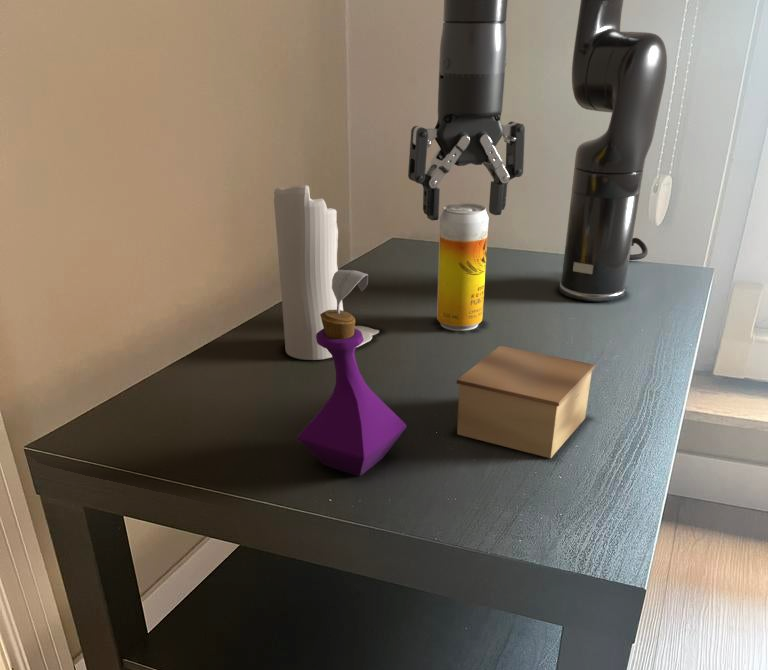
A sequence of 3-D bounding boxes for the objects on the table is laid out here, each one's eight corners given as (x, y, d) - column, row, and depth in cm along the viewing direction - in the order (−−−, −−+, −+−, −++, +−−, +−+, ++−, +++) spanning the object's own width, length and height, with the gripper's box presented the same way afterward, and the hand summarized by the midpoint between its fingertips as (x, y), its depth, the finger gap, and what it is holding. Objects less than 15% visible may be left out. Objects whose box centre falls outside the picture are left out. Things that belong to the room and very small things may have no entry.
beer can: (479, 333, 105) (486, 214, 96) (433, 330, 106) (436, 212, 97) (484, 318, 110) (491, 203, 101) (440, 315, 111) (443, 201, 102)
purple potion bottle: (364, 489, 72) (360, 291, 62) (298, 468, 75) (284, 277, 65) (407, 455, 77) (409, 268, 67) (343, 436, 80) (336, 255, 71)
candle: (390, 334, 104) (390, 170, 94) (312, 365, 96) (302, 189, 85) (351, 321, 109) (347, 163, 98) (273, 350, 100) (259, 180, 89)
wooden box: (496, 397, 88) (500, 345, 85) (587, 418, 84) (595, 364, 80) (454, 434, 81) (456, 379, 77) (551, 460, 76) (559, 402, 73)
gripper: (512, 65, 96) (501, 206, 105) (402, 67, 92) (400, 214, 101) (543, 69, 90) (528, 219, 99) (426, 72, 86) (422, 227, 95)
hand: (463, 216), depth 100 cm, fingers open, 8 cm apart
